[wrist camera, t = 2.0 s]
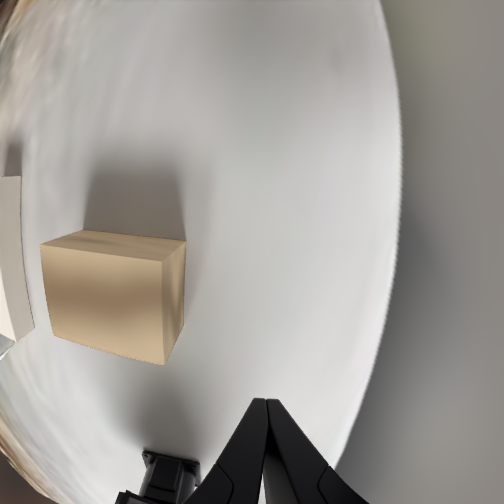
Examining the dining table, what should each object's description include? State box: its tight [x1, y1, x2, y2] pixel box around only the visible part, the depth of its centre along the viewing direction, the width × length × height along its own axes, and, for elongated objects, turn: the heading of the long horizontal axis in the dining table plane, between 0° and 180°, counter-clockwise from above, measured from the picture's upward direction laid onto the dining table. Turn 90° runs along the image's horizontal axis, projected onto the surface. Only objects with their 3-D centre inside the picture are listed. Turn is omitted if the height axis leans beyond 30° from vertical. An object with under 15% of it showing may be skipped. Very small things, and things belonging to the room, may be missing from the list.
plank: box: [0, 176, 35, 342], centre depth 16 cm, size 14×3×3 cm, turn 173°
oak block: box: [40, 230, 186, 366], centre depth 15 cm, size 6×8×5 cm
